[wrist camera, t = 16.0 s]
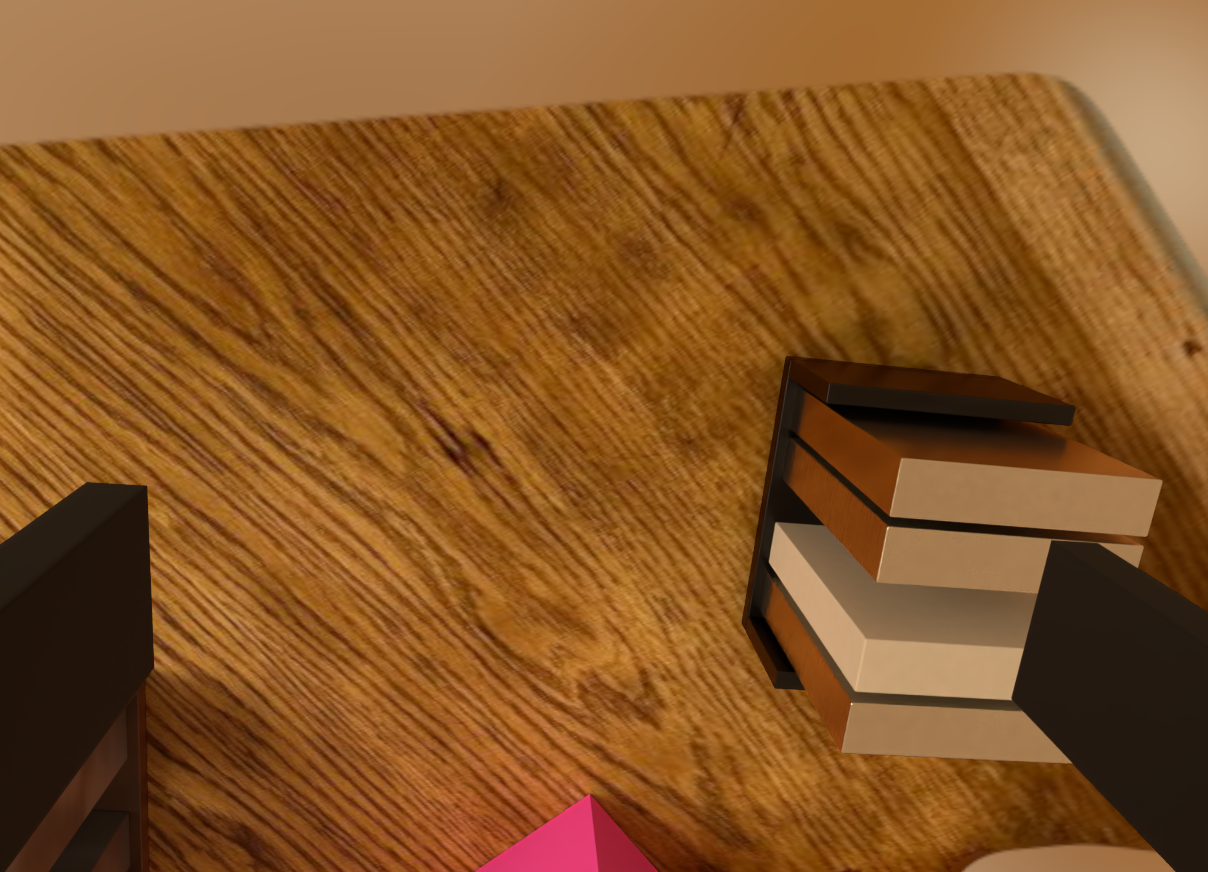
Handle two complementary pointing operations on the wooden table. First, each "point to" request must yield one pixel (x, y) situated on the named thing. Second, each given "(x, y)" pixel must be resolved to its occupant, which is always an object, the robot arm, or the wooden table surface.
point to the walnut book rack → (99, 808)
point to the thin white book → (902, 623)
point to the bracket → (573, 845)
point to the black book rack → (927, 528)
